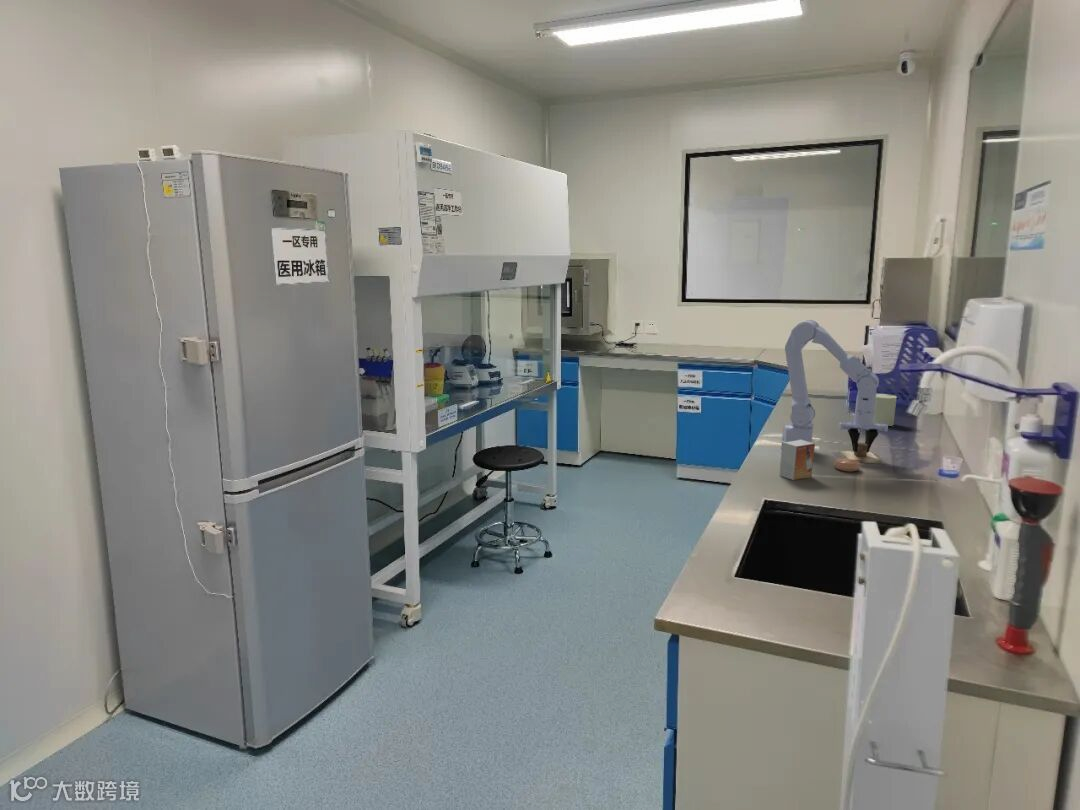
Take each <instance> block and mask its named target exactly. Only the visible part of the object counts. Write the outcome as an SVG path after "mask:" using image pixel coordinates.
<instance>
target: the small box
mask: <svg viewBox="0 0 1080 810" xmlns="http://www.w3.org/2000/svg"><path fill="white" fill-rule="evenodd" d="M781 444H782V448H781V452H780V453H781V454H780V455H781V456H780V462H779V463H780V464H779V476H780V477H783V478H786V479H787V480H792V481H796V480H801V479H808V478H812V477H813V466H814V459H815V458H814V457H815V447H816V444H815V443H814V442H812V443H811V442H808V441H804V440H796V441H790V442H782V441H781Z"/></svg>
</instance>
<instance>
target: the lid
mask: <svg viewBox="0 0 1080 810" xmlns="http://www.w3.org/2000/svg"><path fill="white" fill-rule="evenodd" d="M867 448H868V445H867V444H865V442H858V448H857V452H854V451H853V450H852V451H851V450H849V451H847V450H839V452H838V453H840V454H841V455H842V456H843V457H844V458H847V459H853V460H856V461H859V462H865V463H881V462H882V461H881V460H880V459H879V458H878V457H876V456H875V455H874V454H875V453H872V452H871V451H869V452H868V453H867Z"/></svg>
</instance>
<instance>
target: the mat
mask: <svg viewBox="0 0 1080 810" xmlns="http://www.w3.org/2000/svg"><path fill="white" fill-rule="evenodd" d="M831 453H832V454H833V455H835V457H836V459H839V458H844V457H843V456H842V455H841V454H840V453H839V452H834V451H833V452H831ZM873 454H874V455H875V456H876V457H878V458H879V459H880V460H881V461H882V462H881V463H865V462H860V465H861V464H865V465H889V466H890V464H889V463H888V462H887V461H885V460H884V459H883V458H882V457H880V456H879V455H878V454H877V453H873Z"/></svg>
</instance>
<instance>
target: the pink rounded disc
mask: <svg viewBox="0 0 1080 810" xmlns="http://www.w3.org/2000/svg"><path fill="white" fill-rule="evenodd" d="M860 465H861V463H860V462H859V461H856V460H853V459H847V458H836V459H834V468H835V469H837V470H839V471H842V472H851V473H853V472H855V471H856V472H857V471H859V470H860Z"/></svg>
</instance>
